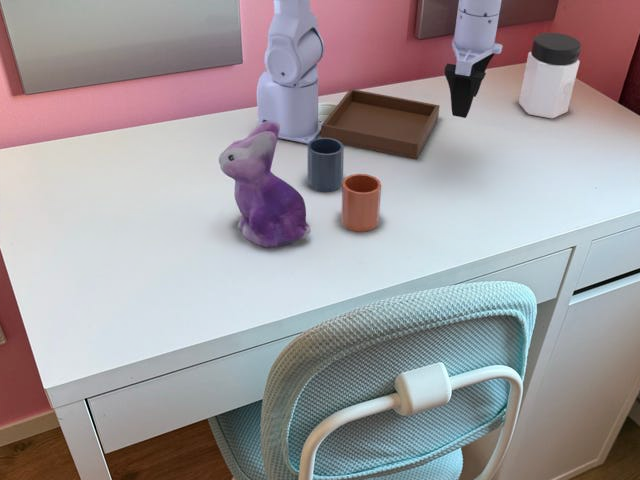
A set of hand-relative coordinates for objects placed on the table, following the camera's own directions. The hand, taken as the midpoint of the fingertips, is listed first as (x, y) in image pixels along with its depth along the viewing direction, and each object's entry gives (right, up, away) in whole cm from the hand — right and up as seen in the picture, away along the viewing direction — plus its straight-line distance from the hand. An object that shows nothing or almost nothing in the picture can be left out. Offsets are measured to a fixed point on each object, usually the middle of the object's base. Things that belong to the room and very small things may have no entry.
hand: (464, 105), depth 109 cm
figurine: (-28, -21, -9) cm, 36 cm away
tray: (-12, +1, +14) cm, 19 cm away
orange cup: (-15, -19, -6) cm, 25 cm away
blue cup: (-21, -11, +1) cm, 24 cm away
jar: (+17, +8, +24) cm, 31 cm away
